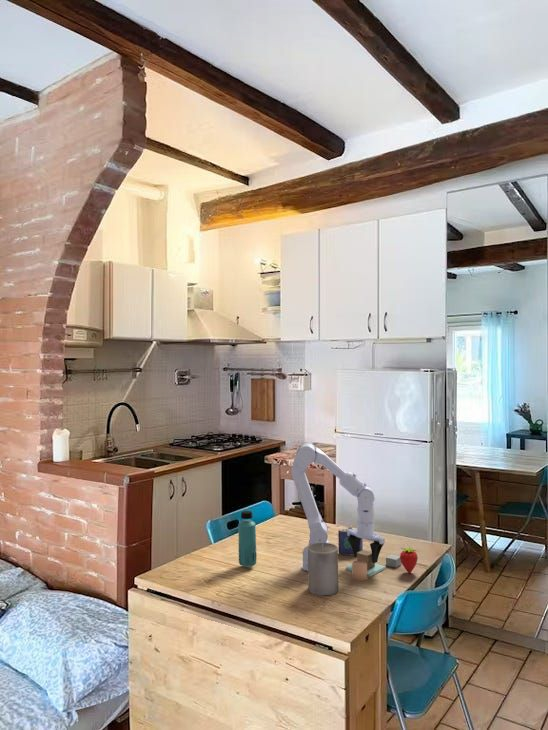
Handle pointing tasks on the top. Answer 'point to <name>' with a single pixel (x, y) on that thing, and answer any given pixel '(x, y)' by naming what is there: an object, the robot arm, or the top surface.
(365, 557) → the walnut block
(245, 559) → the beverage bottle
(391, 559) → the grey square block
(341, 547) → the flask
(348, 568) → the coaster
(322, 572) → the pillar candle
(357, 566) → the peach domed cylinder
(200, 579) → the top surface
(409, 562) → the strawberry
